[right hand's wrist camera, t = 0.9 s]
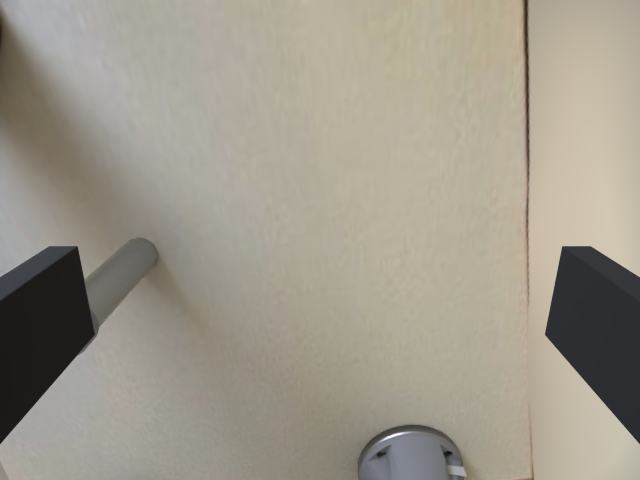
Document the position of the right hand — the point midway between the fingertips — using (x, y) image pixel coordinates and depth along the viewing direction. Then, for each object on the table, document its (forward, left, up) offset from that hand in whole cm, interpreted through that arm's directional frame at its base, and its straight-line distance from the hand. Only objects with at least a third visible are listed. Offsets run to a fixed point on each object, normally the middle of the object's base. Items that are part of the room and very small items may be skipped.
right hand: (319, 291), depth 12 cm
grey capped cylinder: (-15, +22, -41) cm, 49 cm away
